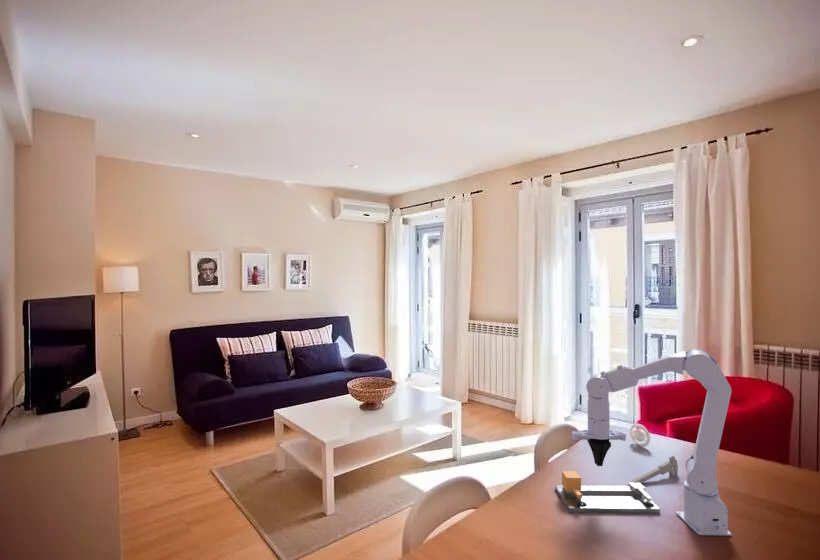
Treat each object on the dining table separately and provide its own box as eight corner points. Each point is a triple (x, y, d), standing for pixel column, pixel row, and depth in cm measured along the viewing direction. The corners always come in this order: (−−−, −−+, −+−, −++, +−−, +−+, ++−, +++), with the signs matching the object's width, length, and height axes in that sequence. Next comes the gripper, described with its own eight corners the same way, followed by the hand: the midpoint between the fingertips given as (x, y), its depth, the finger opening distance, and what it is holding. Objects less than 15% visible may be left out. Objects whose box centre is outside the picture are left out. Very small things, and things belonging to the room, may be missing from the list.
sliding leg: (587, 504, 114) (587, 486, 114) (572, 503, 114) (572, 486, 114) (575, 487, 122) (575, 471, 122) (561, 487, 122) (561, 471, 122)
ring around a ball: (653, 449, 152) (653, 427, 152) (642, 452, 150) (642, 429, 149) (633, 441, 159) (633, 420, 159) (622, 443, 157) (623, 422, 157)
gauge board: (660, 513, 112) (660, 500, 112) (569, 512, 113) (569, 499, 112) (637, 489, 124) (637, 478, 124) (555, 489, 125) (555, 477, 124)
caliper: (674, 474, 134) (674, 454, 134) (677, 475, 133) (677, 456, 133) (627, 486, 126) (627, 466, 126) (630, 488, 125) (630, 467, 125)
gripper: (617, 412, 123) (617, 458, 124) (567, 412, 124) (568, 458, 124) (629, 421, 116) (629, 469, 117) (576, 421, 117) (576, 469, 117)
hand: (598, 464), depth 120 cm, fingers closed
